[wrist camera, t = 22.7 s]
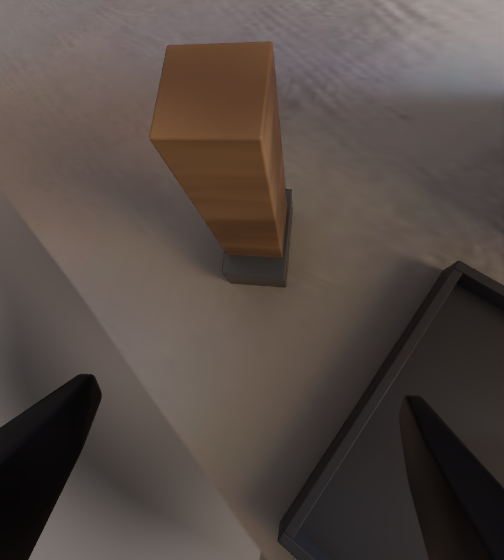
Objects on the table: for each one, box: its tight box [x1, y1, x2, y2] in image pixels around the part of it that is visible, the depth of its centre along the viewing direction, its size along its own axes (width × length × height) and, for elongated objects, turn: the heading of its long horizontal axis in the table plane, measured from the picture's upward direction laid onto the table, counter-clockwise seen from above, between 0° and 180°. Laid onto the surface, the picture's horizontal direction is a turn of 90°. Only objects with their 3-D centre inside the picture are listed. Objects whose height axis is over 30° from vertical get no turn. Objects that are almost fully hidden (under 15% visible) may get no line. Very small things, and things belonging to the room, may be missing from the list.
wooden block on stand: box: [149, 42, 293, 287], centre depth 18 cm, size 6×4×15 cm, turn 174°
